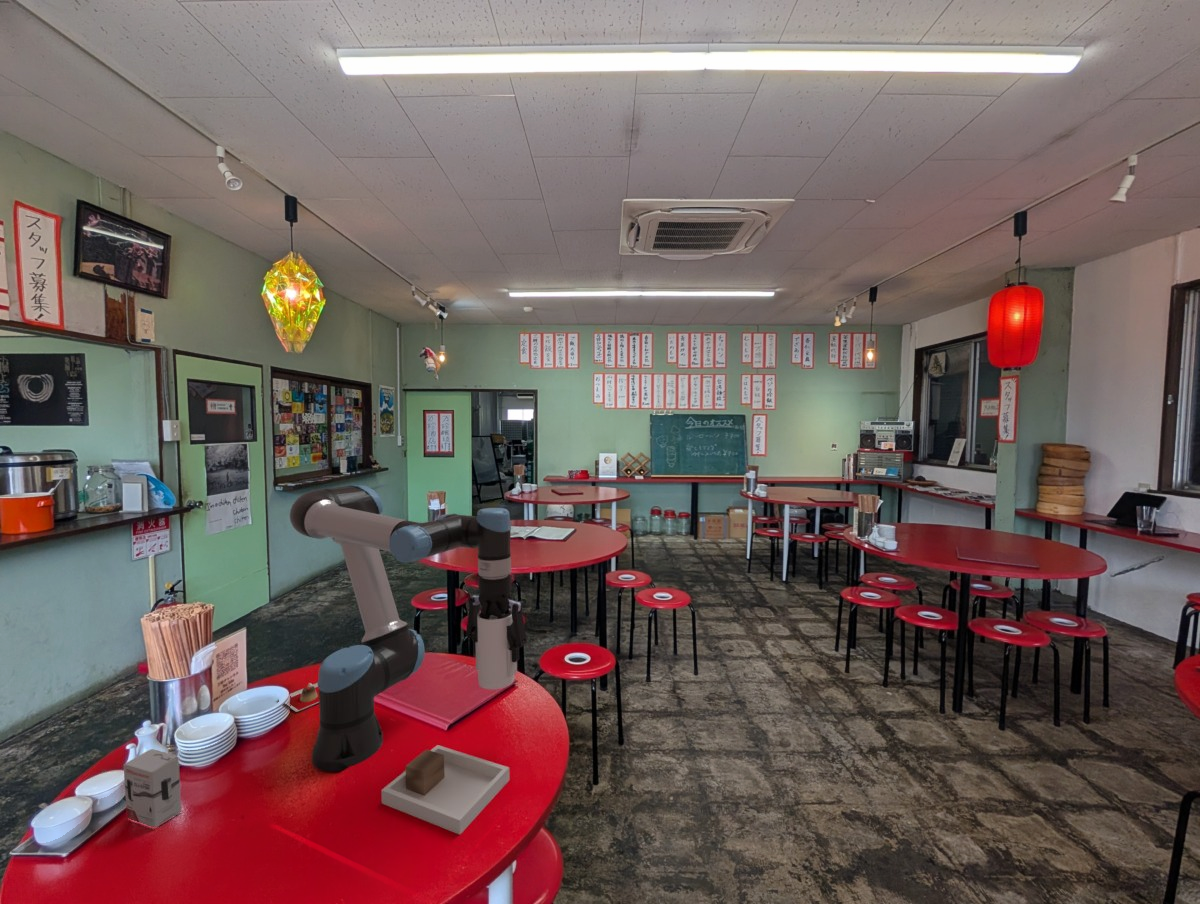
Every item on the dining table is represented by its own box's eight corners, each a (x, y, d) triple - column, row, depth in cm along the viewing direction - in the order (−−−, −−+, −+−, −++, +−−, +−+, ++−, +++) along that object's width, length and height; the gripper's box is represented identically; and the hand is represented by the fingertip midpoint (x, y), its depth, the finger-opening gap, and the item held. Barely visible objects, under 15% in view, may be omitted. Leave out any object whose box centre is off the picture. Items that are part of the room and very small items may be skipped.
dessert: (296, 715, 135) (295, 698, 135) (276, 702, 142) (276, 686, 142) (340, 696, 145) (339, 680, 145) (320, 685, 152) (319, 669, 152)
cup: (518, 672, 120) (517, 607, 119) (508, 690, 112) (507, 620, 111) (485, 671, 121) (484, 606, 120) (473, 688, 112) (472, 619, 112)
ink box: (124, 821, 98) (122, 762, 97) (154, 803, 102) (151, 747, 102) (154, 831, 95) (151, 771, 95) (182, 812, 100) (180, 755, 99)
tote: (381, 807, 101) (381, 790, 100) (437, 759, 115) (437, 744, 115) (460, 838, 92) (459, 820, 92) (509, 783, 107) (509, 767, 107)
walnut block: (406, 789, 104) (405, 765, 104) (426, 771, 110) (426, 749, 110) (424, 795, 102) (423, 772, 102) (444, 777, 108) (443, 755, 108)
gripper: (448, 574, 116) (449, 669, 117) (524, 584, 108) (525, 687, 108) (468, 566, 123) (470, 656, 124) (542, 575, 114) (543, 672, 115)
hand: (496, 670), depth 116 cm, fingers closed on cup, 8 cm apart
